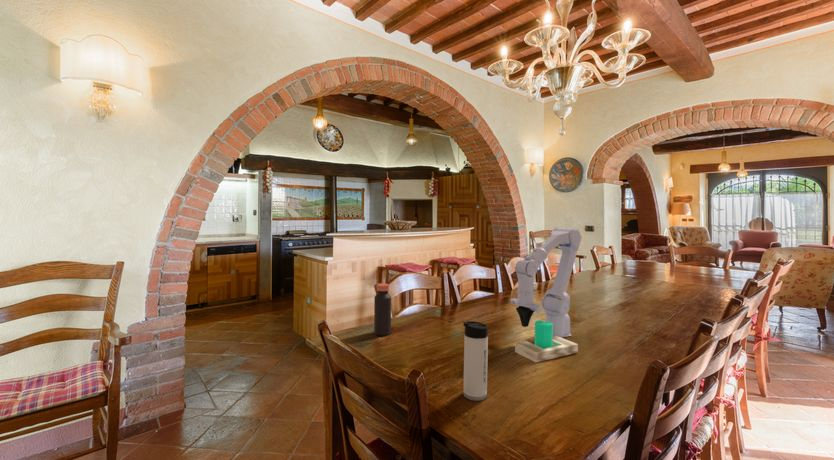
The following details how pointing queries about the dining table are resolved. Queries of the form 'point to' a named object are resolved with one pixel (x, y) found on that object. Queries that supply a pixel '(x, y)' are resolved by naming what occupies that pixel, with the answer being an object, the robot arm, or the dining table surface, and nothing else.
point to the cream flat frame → (546, 349)
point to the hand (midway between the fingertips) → (525, 326)
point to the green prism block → (543, 334)
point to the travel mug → (475, 360)
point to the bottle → (382, 311)
